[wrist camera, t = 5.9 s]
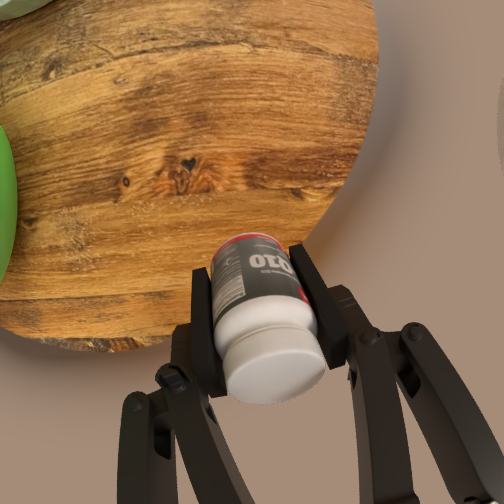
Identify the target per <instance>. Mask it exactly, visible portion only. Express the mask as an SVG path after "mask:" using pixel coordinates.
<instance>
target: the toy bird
mask: <svg viewBox="0 0 504 504" xmlns="http://www.w3.org/2000/svg"><path fill="white" fill-rule="evenodd" d="M17 207H18V195H17V179H16V171H15V164H14V159H13V154H12V150H11V147H10V144H9V141H8V138H7V136H6V133H5V131H4V129H3V128H2V126H1V124H0V283H1V282H2V279H3V277H4V275H5V273H6V270H7V267H8V264H9V261H10V257H11V253H12V249H13V244H14V238H15V232H16V223H17Z"/></svg>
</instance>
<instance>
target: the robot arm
mask: <svg viewBox="0 0 504 504" xmlns="http://www.w3.org/2000/svg"><path fill="white" fill-rule="evenodd" d="M289 254H290V261H291V264H292V266H293V268H294V270H295V272H296V274H297V276H298V279H299V281H300V283H301V285H302V287H303V289H304V291H305V293H306V296H307V298H308V300H309V302H310V304H311V306H312V309H313V311H314V313H315V315H316V319H317V323H318V333H317V337H316V338H317V340H318V343H319V345H320V347H321V350H322V352H323V355H324V357H325V359H326V362H327V364H328V367H329V369H330V370H331V369H334V368H337V367H340V366H343V365H345V363H346V360H347V362H348V364H349V366H350V367H349V373H348V380H350V384H351V392H352V399H353V408H354V417H355V427H356V438H357V449H358V450H357V451H358V466H359V492H360V504H420V501H419V498H418V497H417V495H416V494H415V493H414V490H413V481H412V471H411V462H410V454H409V447H408V441H407V435H406V429H405V423H404V418H403V412H402V407H401V403H400V398H399V393H398V389H397V385H396V382H397V384H398V385H399V387H400V389H401V391H402V393H403V395H404V397H405V399H406V401H407V403H408V405H409V407H410V408H411V410H412V413H413V414H414V417H415V419H416V421H417V422H418V425H419V427H420V429H421V431H422V433H423V435H424V437H425V439H426V441H427V444H428V446H429V448H430V450H431V452H432V454H433V457H434V459H435V461H436V463H437V466H438V468H439V470H440V473H441V475H442V477H443V480H444V482H445V485H446V487H447V490H448V492H449V494H450V496H451V497H452V499H453V500H454V502H455V503H456V504H504V456H503V454H502V451H501V449H500V447H499V445H498V443H497V441H496V439H495V437H494V435H493V433H492V431H491V429H490V427H489V426H488V424H487V422H486V420H485V418H484V416H483V414H482V413H481V411H480V409H479V407H478V406H477V404H476V402H475V401H474V399H473V397H472V396H471V394H470V392H469V391H468V389H467V387H466V386H465V384H464V382H463V381H462V379H461V378H460V376H459V374H458V373H457V372H456V370H455V368H454V367H453V365H452V364H451V362H450V361H449V359H448V358H447V356H446V355H445V353H444V352H443V350H442V349H441V348H440V346H439V345H438V343H437V342H436V340H435V339H434V338H433V336H432V335H431V334H430V332H429V331H428V329H427V328H426V327H425V326H424V325H422V324H420V323H416V322H412V323H408V324H406V325H405V326H404V327H403V329H402V330H401V331H396V332H383V331H380V330H379V329H378V328H376V327H373V326H372V325H371V323H370V322H369V320H368V319H367V317H366V315H365V314H364V312H363V311H362V309H361V307H360V306H359V304H358V303H357V301H356V300H355V298H354V296H353V295H352V293H351V292H350V290H349V289H347V288H346V287H344V286H342V285H338V286H334V287H331V288H327V286H326V285H325V283H324V281H323V279H322V278H321V276H320V274H319V272H318V271H317V269H316V267H315V266H314V264H313V263H312V261H311V259H310V257H309V255H308V254H307V252H306V250H305V249H304V247H303V245H302V244H297V245H293V246H289ZM171 348H172V351H171V363H167V364H165V365H163V366H161V367H160V369H159V370H158V371H157V373H156V376H155V381H156V382H157V383H158V384H159V385H160V386H161V389H159V390H157V391H155V392H152V393H150V394H148V395H146V394H145V393H143V392H139V391H136V392H132V393H131V394H129V395H128V396H127V397H126V399H125V400H124V403H123V408H122V418H121V427H120V438H119V453H118V472H117V504H178V492H177V476H176V455H175V435H176V439H177V442H178V445H179V448H180V452H181V455H182V458H183V461H184V464H185V467H186V470H187V473H188V476H189V479H190V481H191V484H192V487H193V489H194V492H195V494H196V497H197V500H198V502H199V504H255V502H254V500H253V499H252V497H251V495H250V493H249V491H248V489H247V487H246V485H245V483H244V480H243V478H242V476H241V474H240V472H239V470H238V468H237V466H236V463H235V461H234V459H233V457H232V455H231V453H230V450H229V448H228V445H227V443H226V441H225V438H224V436H223V434H222V431H221V429H220V426H219V424H218V421H217V419H216V416H215V414H214V411H213V409H212V406H211V405H210V403H209V398H208V394H209V395H210V397H211V398H216V397H221V396H227V388H226V382H225V375H224V371H223V360H222V359H221V357H220V356H219V355H218V353H217V351H216V348H215V344H214V336H213V316H212V297H211V281H210V279H209V276H208V273H207V270H206V267H203V268H199V269H195V270H192V293H191V323H187V324H182V325H177V326H176V328H175V330H174V332H173V334H172V347H171Z"/></svg>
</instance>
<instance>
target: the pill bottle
mask: <svg viewBox="0 0 504 504" xmlns="http://www.w3.org/2000/svg"><path fill="white" fill-rule="evenodd" d="M210 273H211V297H212V316H213V336H214V344H215V348H216V351H217V353H218V355H219V356H220V357H221V359H222V360H223V371H224V375H225V382H226V388H227V390H228V392H229V394H230V395H231V396H232V397H234V398H235V399H237V400H239V401H241V402H244V403H248V404H258V405H260V404H261V405H262V404H274V403H279V402H283V401H286V400H289V399H292V398H295V397H297V396H299V395H301V394H303V393H305V392H306V391H308V390H309V389H311V388H312V387H313V386H314V385H316V384H317V383H318V381H319V380H320V379H321V377H322V376H323V374H324V371H325V362H324V359H323V356H322V354H321V351H320V348H319V346H318V343H317V340H316V337H317V333H318V323H317V319H316V315H315V313H314V311H313V309H312V306H311V304H310V302H309V300H308V298H307V296H306V293H305V291H304V289H303V287H302V285H301V283H300V281H299V279H298V276H297V274H296V272H295V270H294V268H293V266H292V264H291V262H290V259H289V257H288V255H287V253H286V251H285V249H284V248H283V246H282V245H281V244H280V243H279V242H278V241H277V240H276V239H274V238H273V237H271V236H269V235H266V234H263V233H257V232H247V233H242V234H238V235H236V236H233V237H231V238H230V239H228V240H227V241H225V242H224V243H223V244H222V245H220V247H219V248H218V249H217V250H216V252H215V253H214V255H213V258H212V261H211V267H210Z"/></svg>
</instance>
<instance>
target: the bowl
mask: <svg viewBox="0 0 504 504" xmlns="http://www.w3.org/2000/svg"><path fill="white" fill-rule="evenodd" d="M50 1H52V0H0V21H5V20H9V19H13V18H17V17H21V16H23V15H25V14H27V13H29V12H32V11H34V10H36V9H38V8H41V7H42V6H44V5H46V4H47V3H49V2H50Z"/></svg>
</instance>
